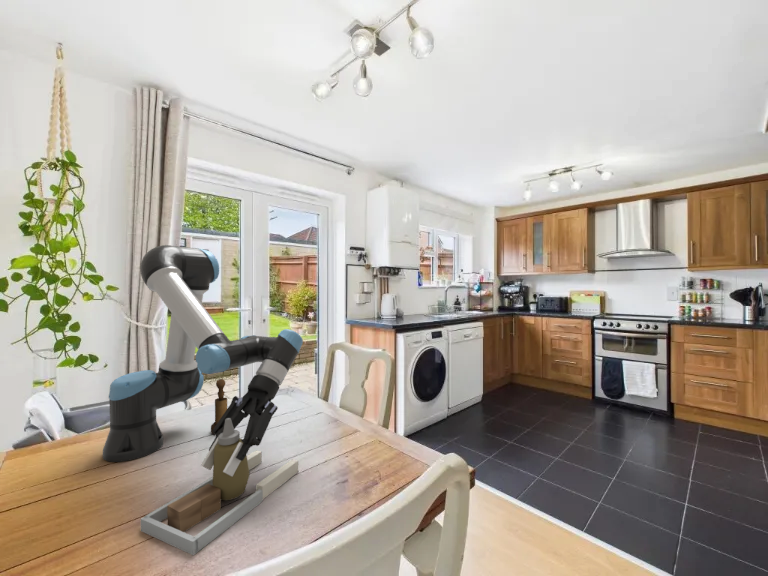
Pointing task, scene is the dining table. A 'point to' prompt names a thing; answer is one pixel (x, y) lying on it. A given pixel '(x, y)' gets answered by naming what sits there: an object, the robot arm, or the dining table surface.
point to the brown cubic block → (208, 500)
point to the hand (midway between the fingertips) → (216, 470)
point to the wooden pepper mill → (219, 403)
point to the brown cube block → (184, 513)
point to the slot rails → (275, 478)
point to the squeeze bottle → (222, 455)
